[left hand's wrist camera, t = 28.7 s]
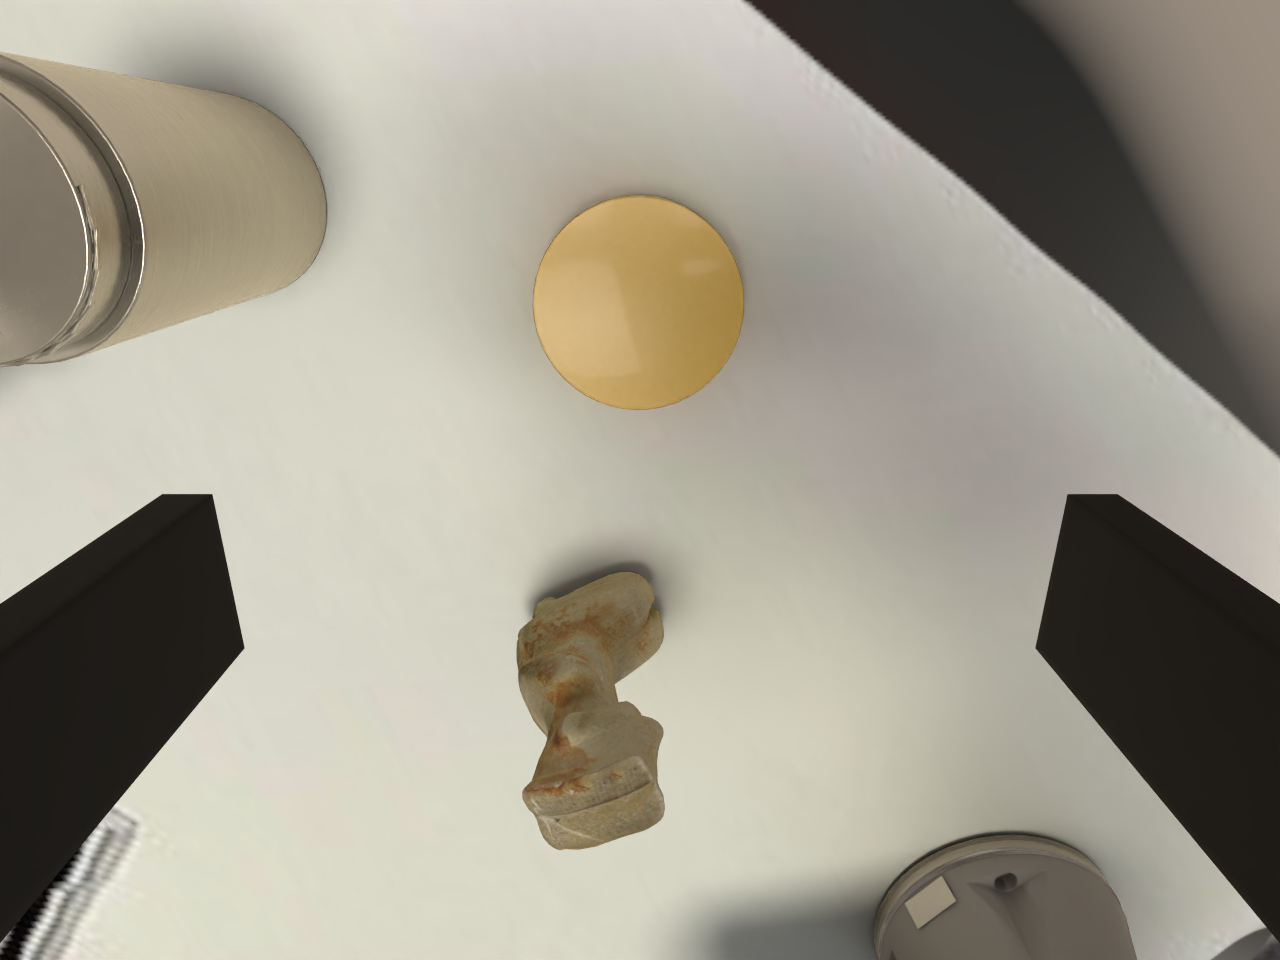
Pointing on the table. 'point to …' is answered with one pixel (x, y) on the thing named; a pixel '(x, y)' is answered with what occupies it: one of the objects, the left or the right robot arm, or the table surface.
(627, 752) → the sculpture
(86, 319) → the jar
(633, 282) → the lid
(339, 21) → the table surface
